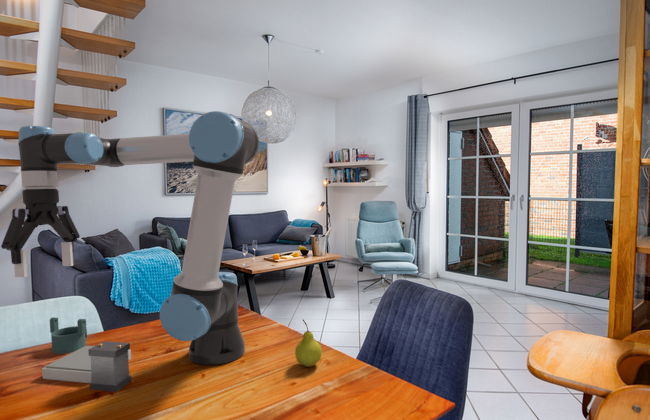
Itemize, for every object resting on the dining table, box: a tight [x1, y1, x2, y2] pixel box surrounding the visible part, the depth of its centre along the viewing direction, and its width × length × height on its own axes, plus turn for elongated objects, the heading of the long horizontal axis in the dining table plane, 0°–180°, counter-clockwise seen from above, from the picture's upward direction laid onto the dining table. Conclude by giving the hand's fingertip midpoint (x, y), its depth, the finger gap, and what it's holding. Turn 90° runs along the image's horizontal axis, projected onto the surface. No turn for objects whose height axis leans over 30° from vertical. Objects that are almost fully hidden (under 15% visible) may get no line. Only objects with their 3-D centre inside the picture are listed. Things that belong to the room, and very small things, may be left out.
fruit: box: [294, 318, 323, 368], centre depth 104 cm, size 7×7×12 cm
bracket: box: [49, 317, 88, 355], centre depth 117 cm, size 9×9×9 cm
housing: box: [88, 340, 132, 393], centre depth 94 cm, size 7×5×10 cm
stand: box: [41, 345, 132, 384], centre depth 103 cm, size 14×14×3 cm
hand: (46, 271), depth 102 cm, fingers open, 13 cm apart
